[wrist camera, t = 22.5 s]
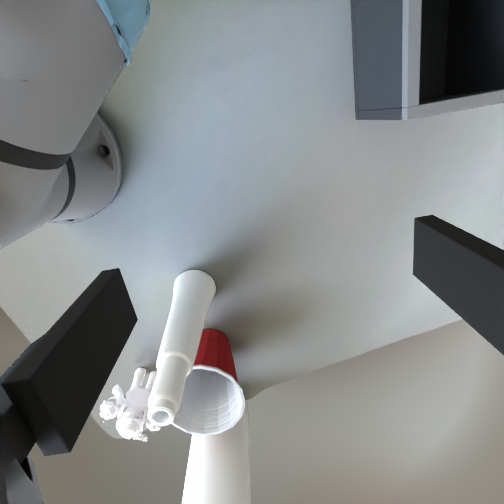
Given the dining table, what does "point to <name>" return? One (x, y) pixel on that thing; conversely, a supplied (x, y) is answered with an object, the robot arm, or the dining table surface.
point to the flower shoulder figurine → (131, 407)
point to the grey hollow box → (426, 56)
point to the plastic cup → (211, 389)
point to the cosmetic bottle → (180, 344)
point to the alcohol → (219, 467)
